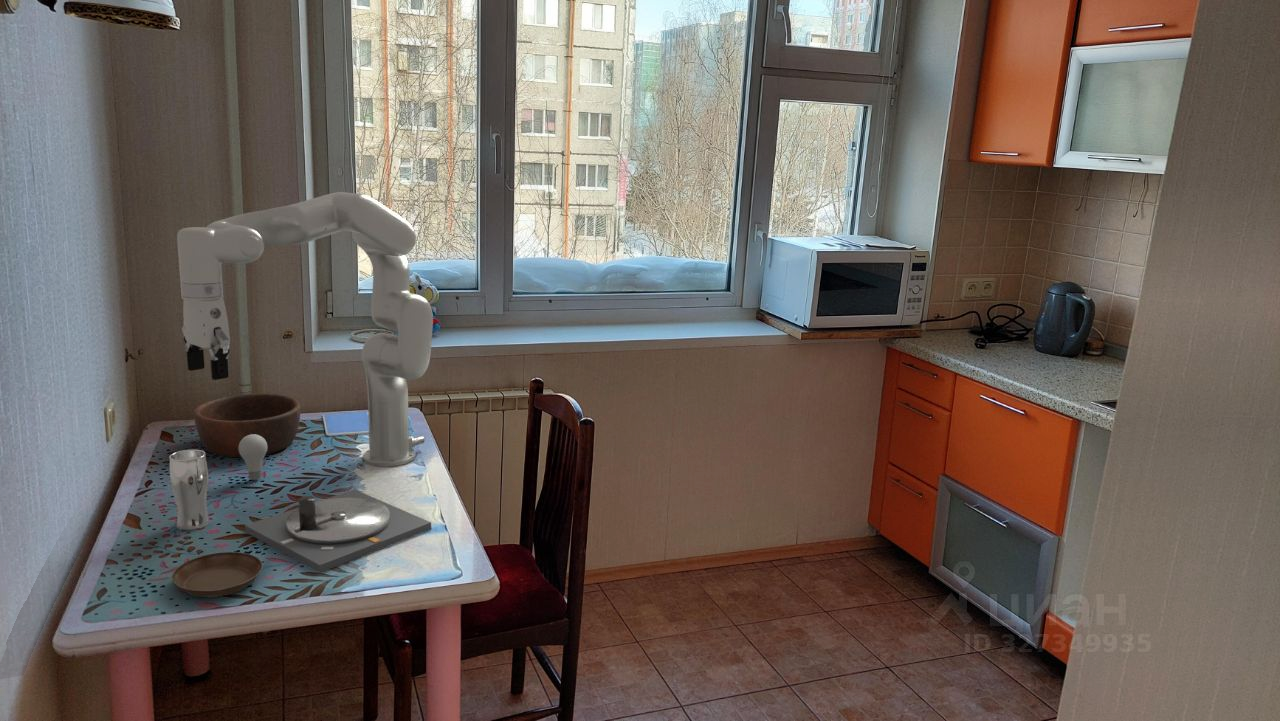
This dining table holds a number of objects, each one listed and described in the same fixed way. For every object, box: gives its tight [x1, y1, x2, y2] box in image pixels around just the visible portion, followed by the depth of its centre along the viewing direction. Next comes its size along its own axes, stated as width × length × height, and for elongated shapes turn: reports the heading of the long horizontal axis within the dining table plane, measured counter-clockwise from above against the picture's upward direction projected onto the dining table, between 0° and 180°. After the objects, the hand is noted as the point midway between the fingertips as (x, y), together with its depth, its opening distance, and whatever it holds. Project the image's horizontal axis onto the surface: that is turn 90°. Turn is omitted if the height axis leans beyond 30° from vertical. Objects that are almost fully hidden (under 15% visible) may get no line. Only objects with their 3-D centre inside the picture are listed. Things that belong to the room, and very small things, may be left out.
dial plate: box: [244, 489, 432, 573], centre depth 187 cm, size 26×26×2 cm
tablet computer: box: [322, 410, 369, 437], centre depth 252 cm, size 19×13×1 cm, turn 22°
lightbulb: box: [238, 434, 268, 482], centre depth 210 cm, size 6×6×11 cm
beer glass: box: [168, 449, 210, 531], centre depth 185 cm, size 7×7×15 cm
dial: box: [286, 495, 390, 544], centre depth 185 cm, size 20×20×7 cm
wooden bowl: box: [193, 393, 302, 458], centre depth 232 cm, size 25×25×10 cm
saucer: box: [171, 551, 264, 598], centre depth 164 cm, size 15×15×3 cm
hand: (208, 373), depth 185 cm, fingers open, 9 cm apart
